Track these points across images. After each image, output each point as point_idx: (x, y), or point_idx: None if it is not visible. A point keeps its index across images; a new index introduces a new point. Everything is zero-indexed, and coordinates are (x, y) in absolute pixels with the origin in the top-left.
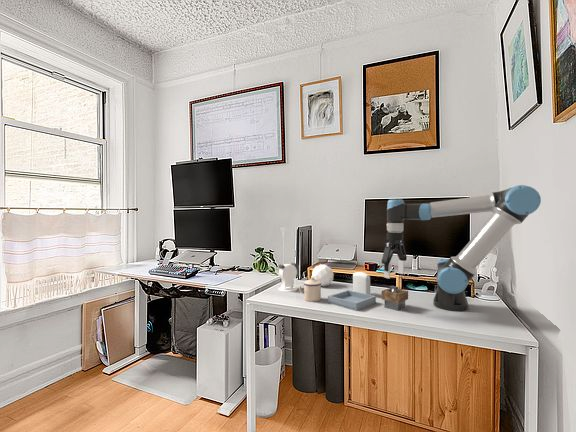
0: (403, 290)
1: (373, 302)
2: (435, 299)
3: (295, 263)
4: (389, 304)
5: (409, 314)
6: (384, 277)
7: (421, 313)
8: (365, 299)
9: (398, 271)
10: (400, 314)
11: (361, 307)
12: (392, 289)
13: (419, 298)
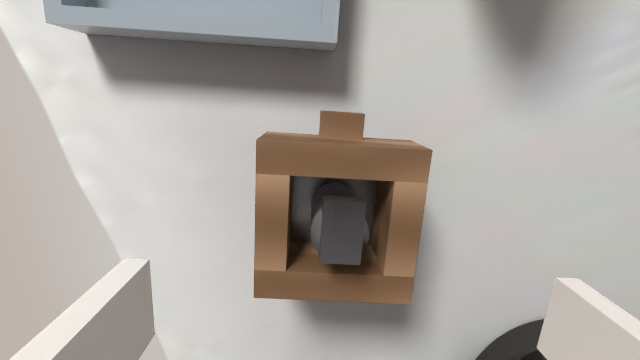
0: (399, 273)
1: (302, 47)
2: (536, 358)
3: None
4: None
5: None
6: (122, 265)
7: (327, 329)
8: (192, 23)
9: (576, 299)
10: (233, 262)
11: (143, 36)
12: (313, 223)
13: (613, 224)
